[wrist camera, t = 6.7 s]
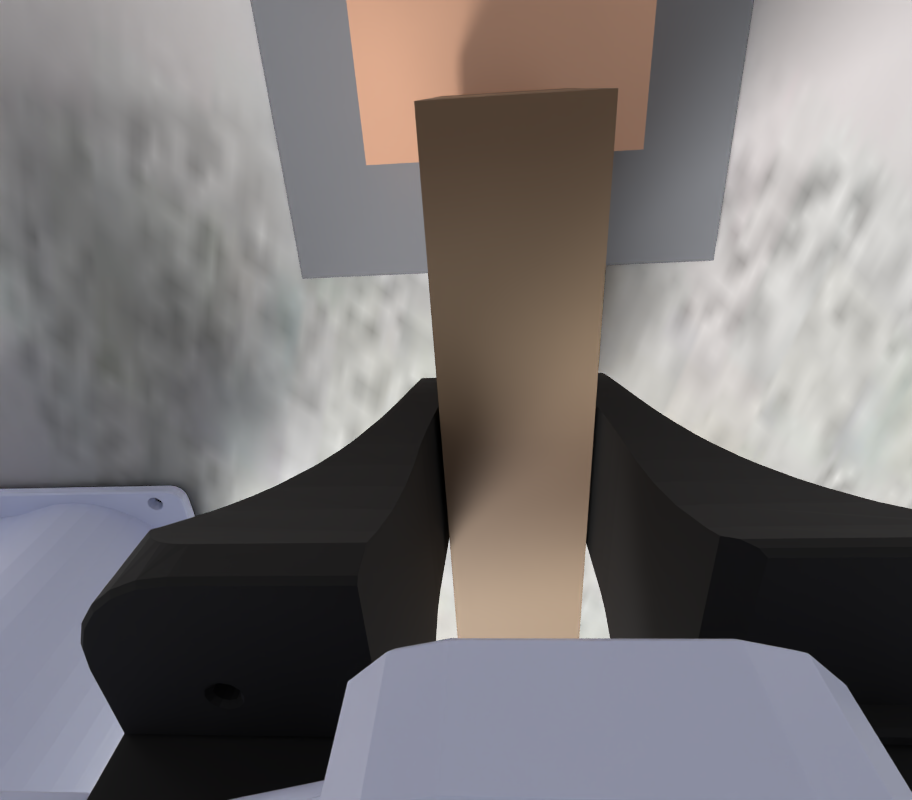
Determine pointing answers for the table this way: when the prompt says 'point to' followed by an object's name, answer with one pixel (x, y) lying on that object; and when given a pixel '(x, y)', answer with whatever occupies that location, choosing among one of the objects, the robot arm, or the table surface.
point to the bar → (517, 341)
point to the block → (494, 59)
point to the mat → (398, 185)
